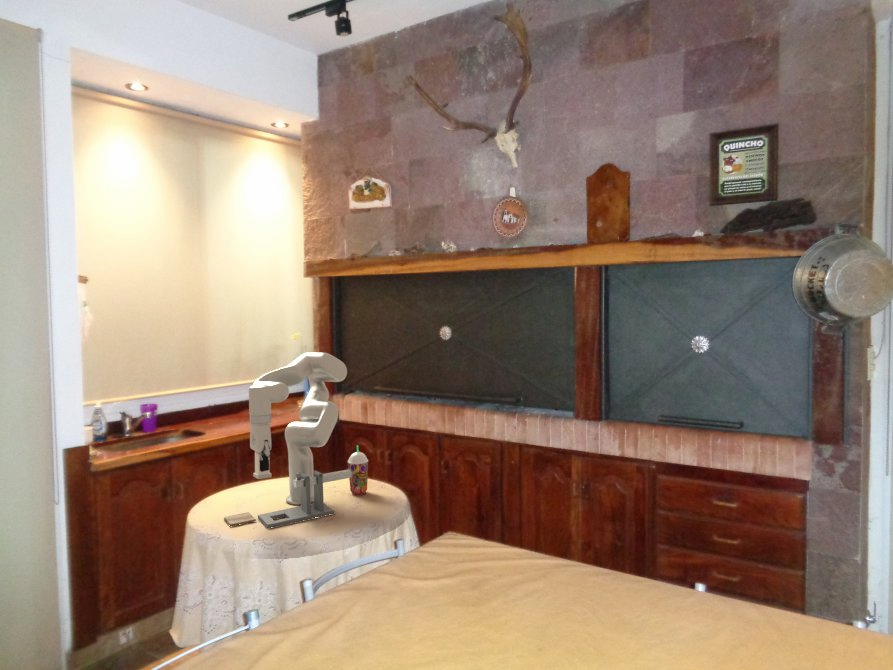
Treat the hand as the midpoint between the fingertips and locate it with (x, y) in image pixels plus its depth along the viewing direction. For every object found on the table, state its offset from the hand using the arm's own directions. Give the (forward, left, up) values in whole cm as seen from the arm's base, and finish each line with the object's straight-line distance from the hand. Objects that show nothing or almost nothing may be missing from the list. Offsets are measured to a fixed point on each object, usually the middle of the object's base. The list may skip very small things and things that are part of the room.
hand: (262, 468), depth 234 cm
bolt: (+3, +22, -8) cm, 23 cm away
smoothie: (-9, +42, -20) cm, 47 cm away
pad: (-6, -7, -19) cm, 21 cm away
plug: (0, 0, -3) cm, 3 cm away
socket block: (+2, +11, -19) cm, 23 cm away
